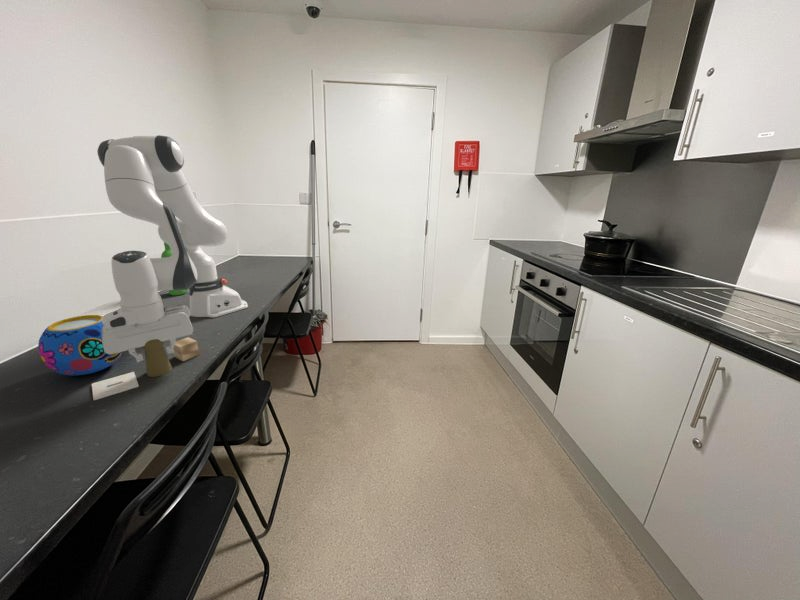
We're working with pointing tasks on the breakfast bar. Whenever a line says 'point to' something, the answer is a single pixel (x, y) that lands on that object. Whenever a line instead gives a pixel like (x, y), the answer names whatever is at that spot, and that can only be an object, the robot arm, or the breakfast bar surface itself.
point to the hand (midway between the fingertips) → (155, 356)
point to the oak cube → (186, 349)
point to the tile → (114, 385)
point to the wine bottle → (167, 254)
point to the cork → (156, 358)
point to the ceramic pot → (75, 346)
